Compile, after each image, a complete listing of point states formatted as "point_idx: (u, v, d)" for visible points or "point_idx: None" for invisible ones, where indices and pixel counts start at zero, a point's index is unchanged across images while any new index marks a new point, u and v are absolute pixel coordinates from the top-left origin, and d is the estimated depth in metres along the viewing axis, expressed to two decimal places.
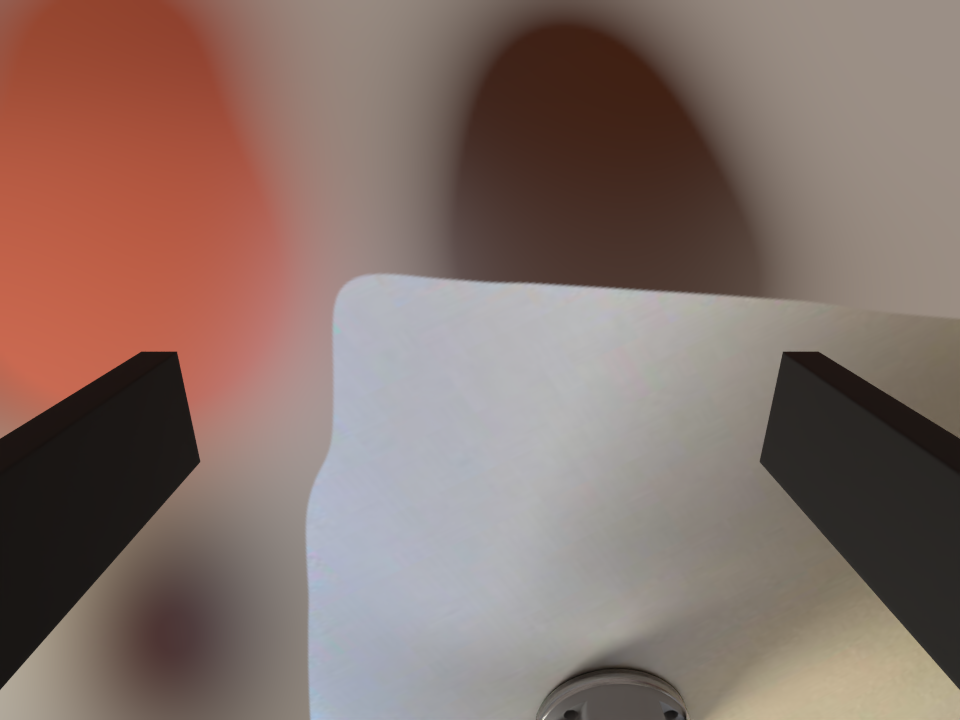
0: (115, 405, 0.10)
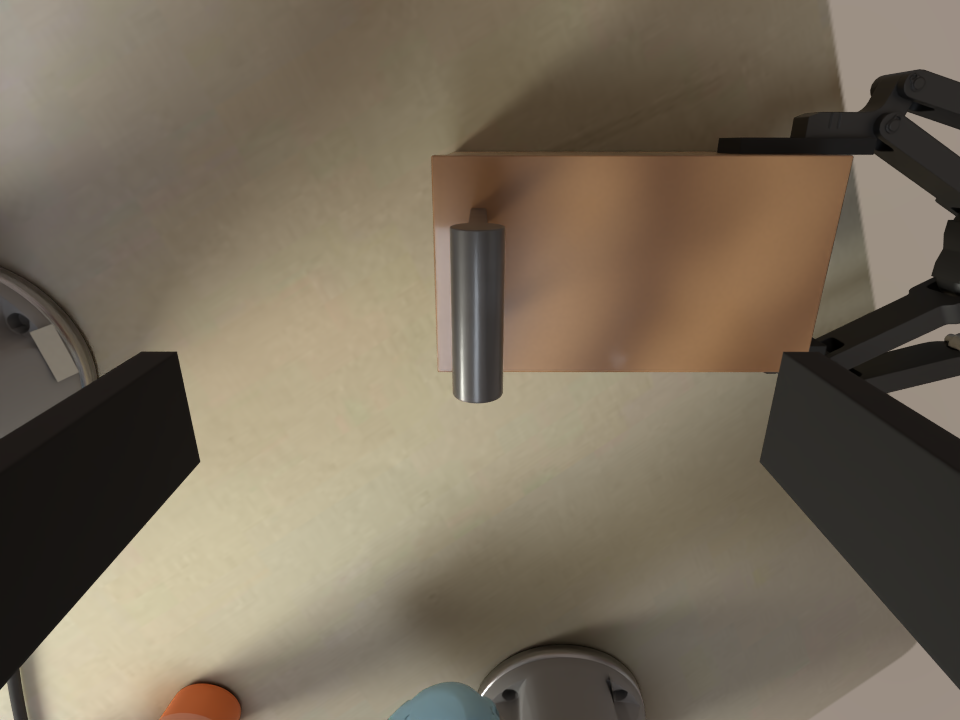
0: (116, 405, 0.10)
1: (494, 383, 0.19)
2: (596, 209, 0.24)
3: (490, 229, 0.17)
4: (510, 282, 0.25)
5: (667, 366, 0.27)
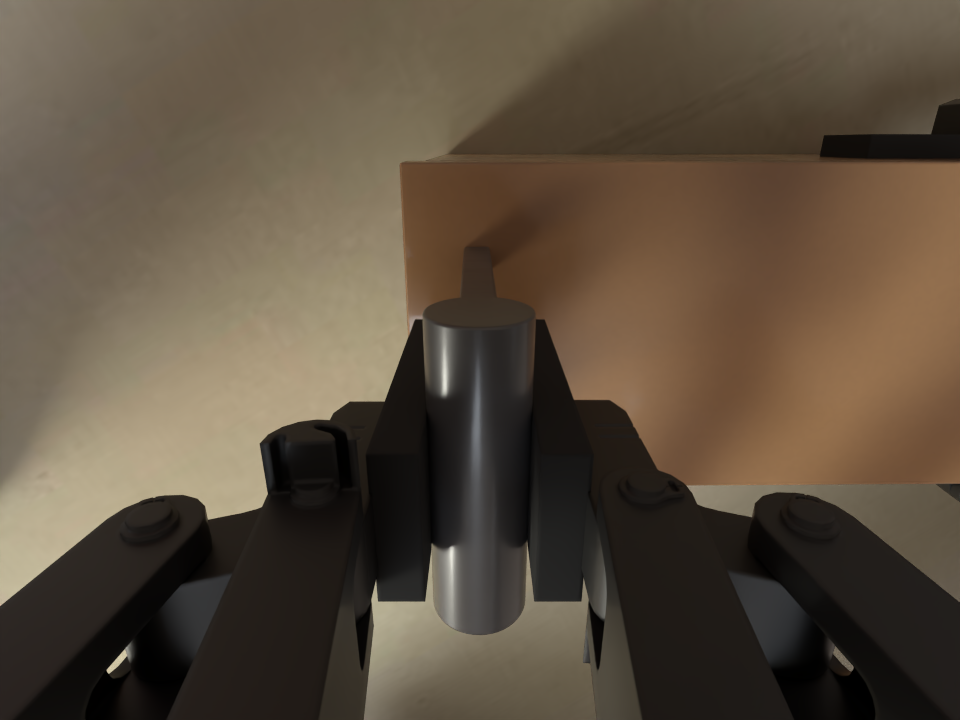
0: None
1: (511, 598, 0.10)
2: (665, 247, 0.15)
3: (507, 323, 0.08)
4: None
5: (761, 477, 0.18)
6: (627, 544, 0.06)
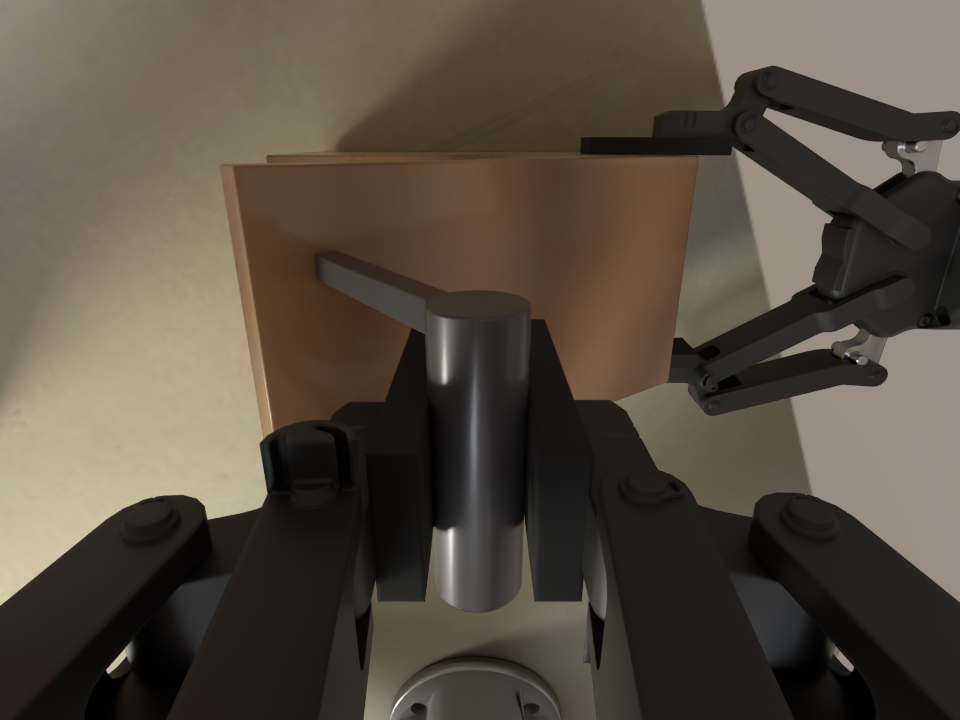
0: None
1: (521, 560, 0.11)
2: (485, 235, 0.17)
3: (522, 308, 0.09)
4: (384, 358, 0.16)
5: None
6: (627, 544, 0.06)
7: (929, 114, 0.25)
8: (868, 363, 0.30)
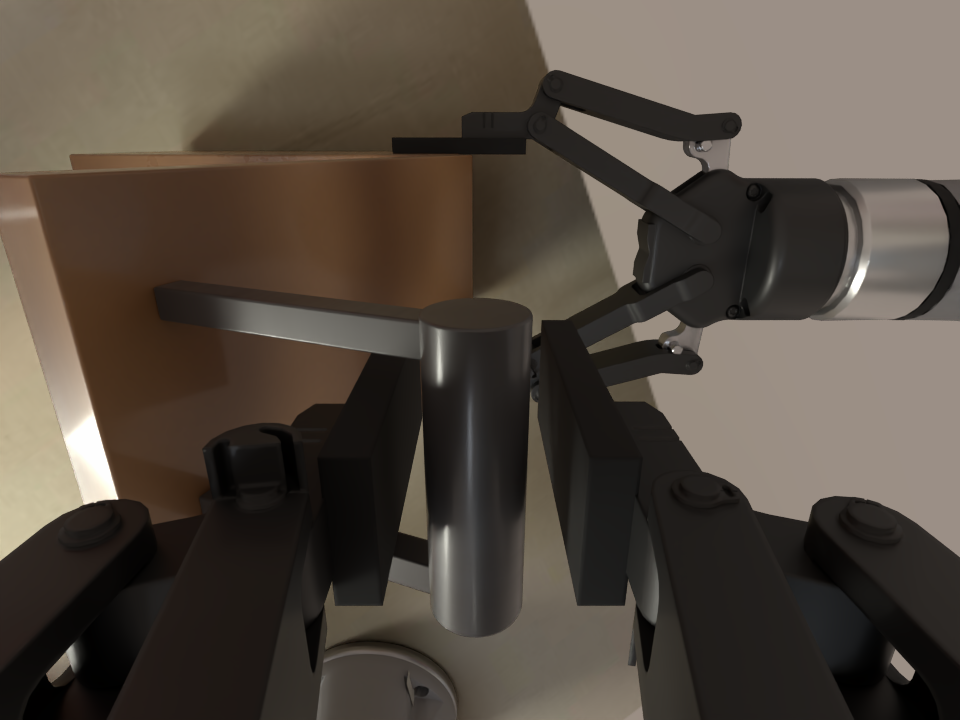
0: (408, 359, 0.12)
1: None
2: (325, 244, 0.16)
3: (523, 310, 0.09)
4: (245, 401, 0.14)
5: None
6: (681, 547, 0.06)
7: (709, 115, 0.27)
8: (685, 352, 0.31)
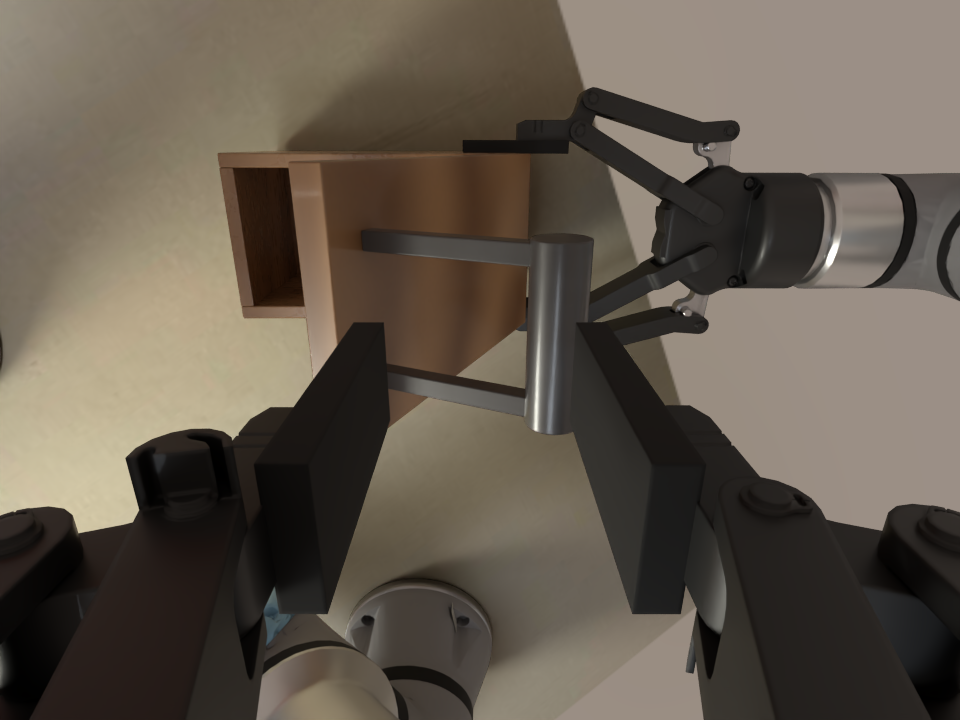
0: (367, 362, 0.12)
1: None
2: (441, 214, 0.23)
3: (588, 237, 0.16)
4: (395, 312, 0.21)
5: (481, 351, 0.29)
6: (752, 554, 0.06)
7: (714, 122, 0.34)
8: (694, 315, 0.38)
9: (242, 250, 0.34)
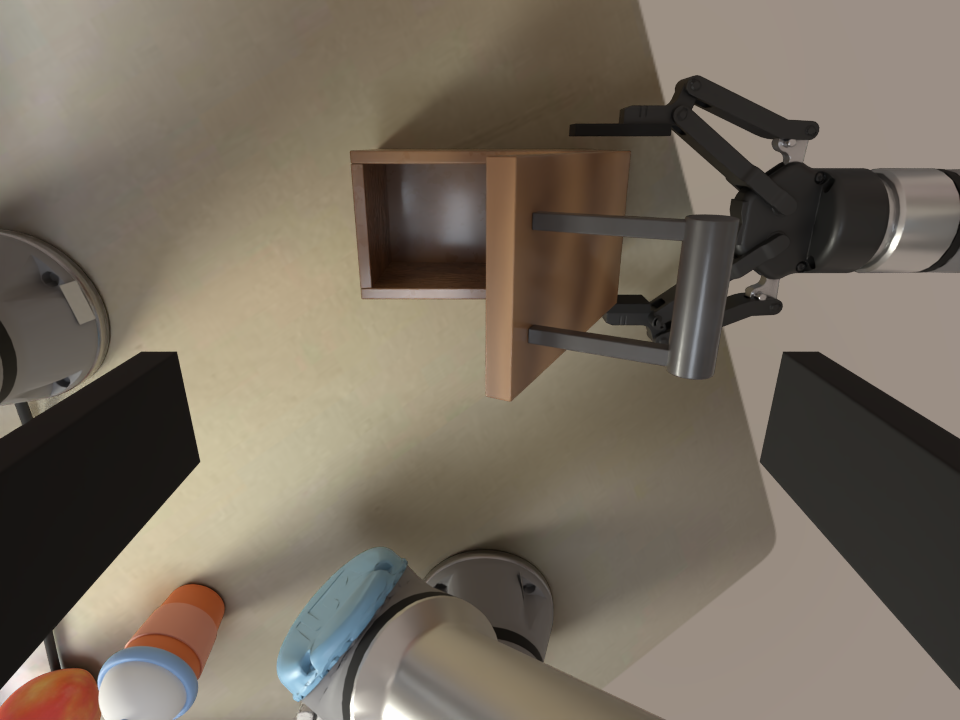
0: (115, 405, 0.10)
1: None
2: (575, 202, 0.27)
3: (733, 217, 0.20)
4: (544, 283, 0.25)
5: (588, 325, 0.33)
6: None
7: (797, 121, 0.38)
8: (768, 298, 0.42)
9: (365, 237, 0.38)
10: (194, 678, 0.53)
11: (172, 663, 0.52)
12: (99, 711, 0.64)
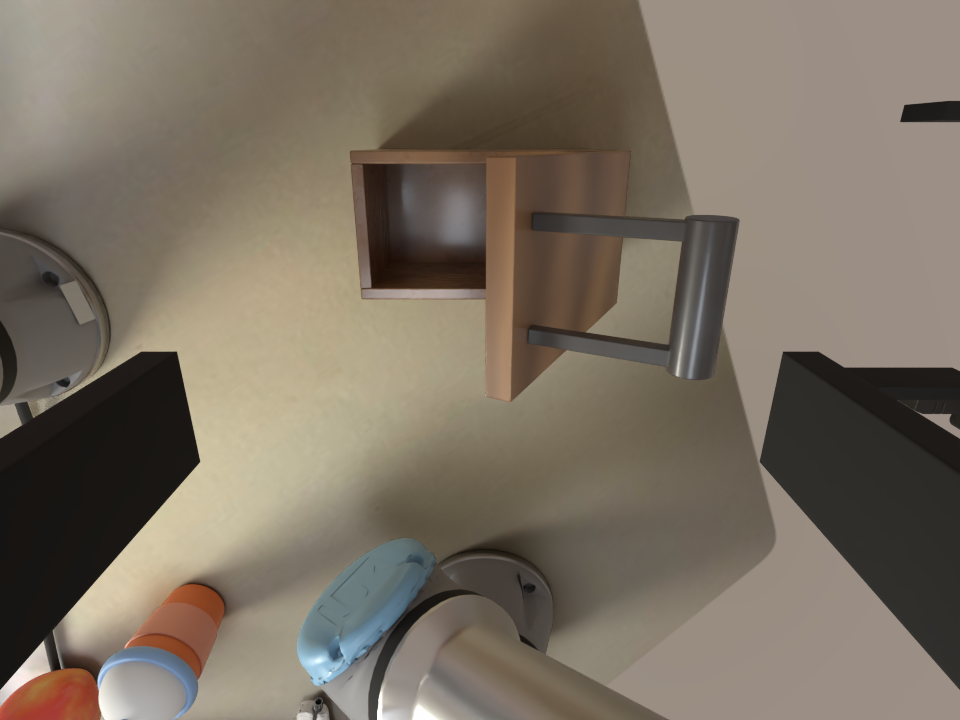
0: (115, 405, 0.10)
1: None
2: (575, 202, 0.27)
3: (733, 217, 0.20)
4: (544, 283, 0.25)
5: (588, 325, 0.33)
6: None
7: None
8: None
9: (365, 237, 0.38)
10: (194, 678, 0.53)
11: (172, 663, 0.52)
12: (99, 711, 0.64)
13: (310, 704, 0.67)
